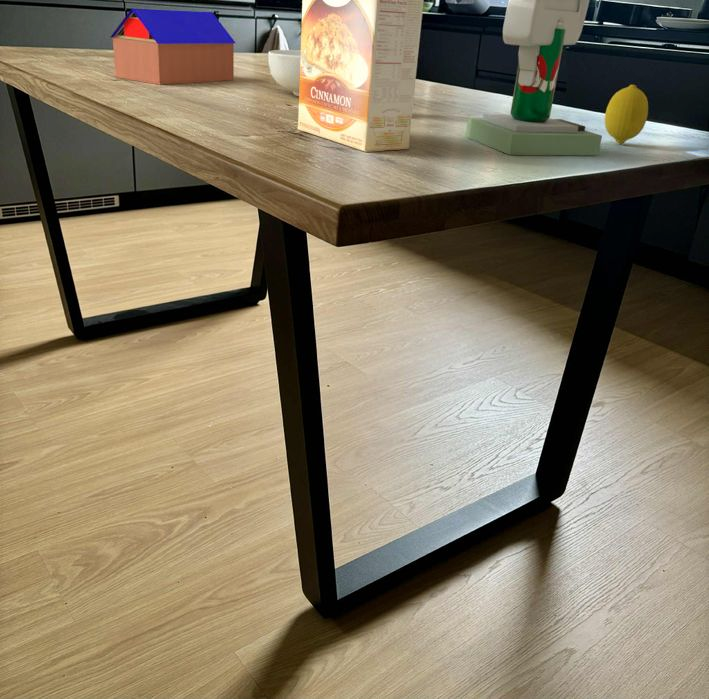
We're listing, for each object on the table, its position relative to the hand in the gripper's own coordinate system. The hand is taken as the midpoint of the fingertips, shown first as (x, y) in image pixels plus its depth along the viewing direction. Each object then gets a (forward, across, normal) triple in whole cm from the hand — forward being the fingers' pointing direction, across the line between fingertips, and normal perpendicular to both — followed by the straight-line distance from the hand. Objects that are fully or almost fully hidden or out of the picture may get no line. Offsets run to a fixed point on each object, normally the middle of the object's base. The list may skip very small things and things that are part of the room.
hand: (535, 83), depth 91 cm
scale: (+8, 0, 0) cm, 8 cm away
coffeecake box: (+8, -16, +17) cm, 25 cm away
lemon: (+8, +14, -9) cm, 18 cm away
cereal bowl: (+8, +16, +44) cm, 48 cm away
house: (+8, +11, +73) cm, 74 cm away
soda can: (+5, 0, 0) cm, 5 cm away
